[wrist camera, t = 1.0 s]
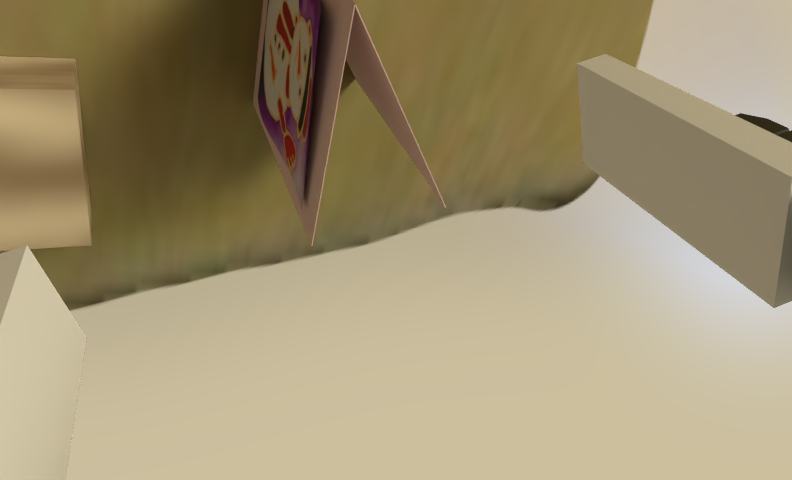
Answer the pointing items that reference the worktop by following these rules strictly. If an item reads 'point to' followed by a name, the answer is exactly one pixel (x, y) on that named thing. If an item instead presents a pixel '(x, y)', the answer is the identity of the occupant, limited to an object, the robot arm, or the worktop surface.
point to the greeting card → (318, 91)
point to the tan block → (42, 155)
